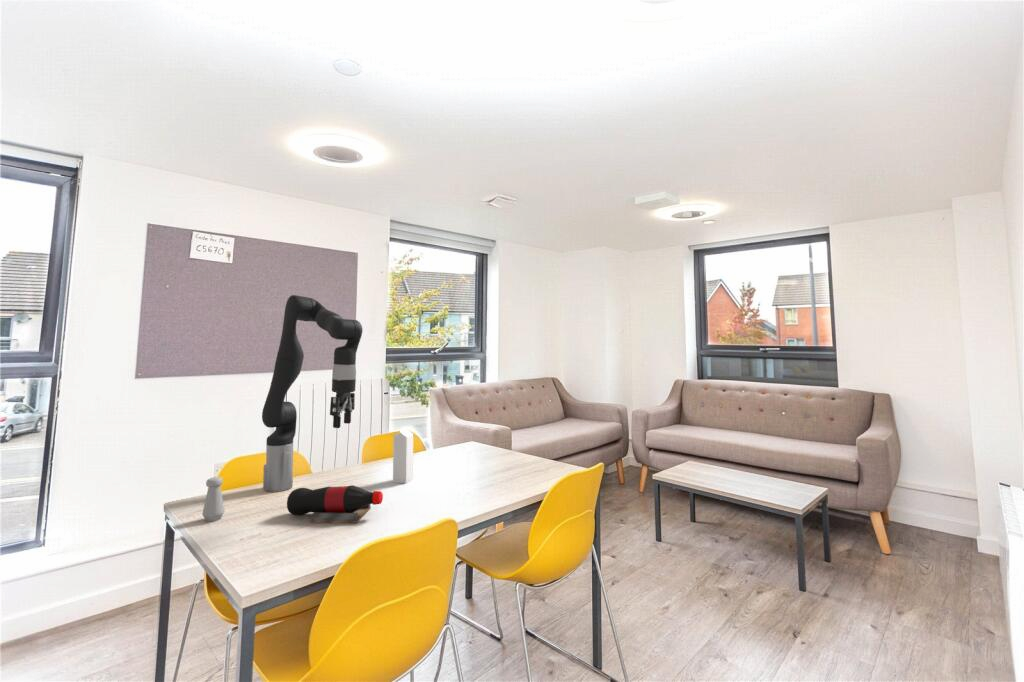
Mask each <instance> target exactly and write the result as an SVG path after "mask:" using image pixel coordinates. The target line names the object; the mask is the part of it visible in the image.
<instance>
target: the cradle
mask: <svg viewBox="0 0 1024 682" xmlns="http://www.w3.org/2000/svg"><path fill="white" fill-rule="evenodd" d="M371 509H372V507H371V504H369V505H367V506H365V507H363V508H361V509H359V510H357V511H355V512H352V513H323V512H314V513H313V512H312V513H311V521H310V523H311V524H346V525H347V524H348V525H349V524H353V525H354V524H355V525H356V524H357V523H358V522H359V521H360V520H361V519H362V518H363V517H365V515H366V514H367V513H368V512H369V511H370V510H371Z"/></svg>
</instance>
